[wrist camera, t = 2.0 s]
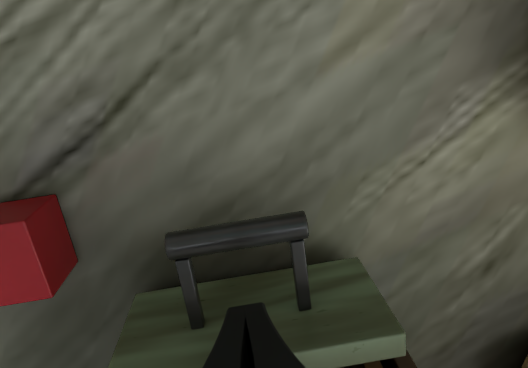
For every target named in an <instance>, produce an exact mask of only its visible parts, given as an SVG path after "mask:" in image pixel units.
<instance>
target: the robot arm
mask: <svg viewBox="0 0 528 368" xmlns="http://www.w3.org/2000/svg"><path fill="white" fill-rule="evenodd" d="M202 368H306V367H305V366H304V365H303V364H302V363H301V362H300V361H299V360H298V358H297V357H296V356H295V355H294V354H293V352H292V351H291V350H290V348H289V347H288V346H287V344H286V343H285V342H284V340H283V339H282V337H281V336H280V334H279V333H278V331H277V330H276V328H275V326H274V325H273V323H272V321H271V319H270V317H269V315H268V312H267V310H266V307H265V304H264V303H262V302H259V303H253V304H247V305H241V306H235V307H229V308H228V310H227V312H226V315H225V319H224V322H223V324H222V327H221V330H220V332H219V335H218V337H217V339H216V341H215V344H214V346H213V348H212V350H211V352H210V354H209V356H208V358H207V360H206V362H205V364H204V366H203V367H202Z"/></svg>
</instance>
